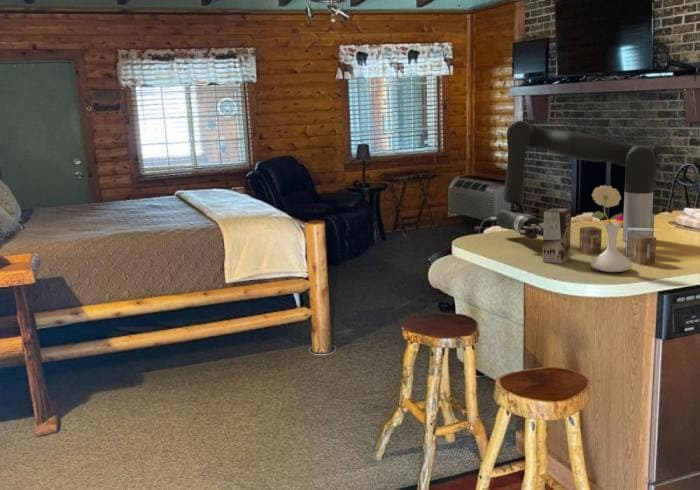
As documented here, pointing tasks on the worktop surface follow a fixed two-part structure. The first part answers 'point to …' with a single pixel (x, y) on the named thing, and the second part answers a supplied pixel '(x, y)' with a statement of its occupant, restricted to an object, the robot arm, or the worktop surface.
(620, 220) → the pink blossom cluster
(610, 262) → the flower in vase
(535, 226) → the robot arm
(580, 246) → the walnut block seven
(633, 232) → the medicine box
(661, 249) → the worktop surface
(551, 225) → the coffee box
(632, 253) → the walnut block one
